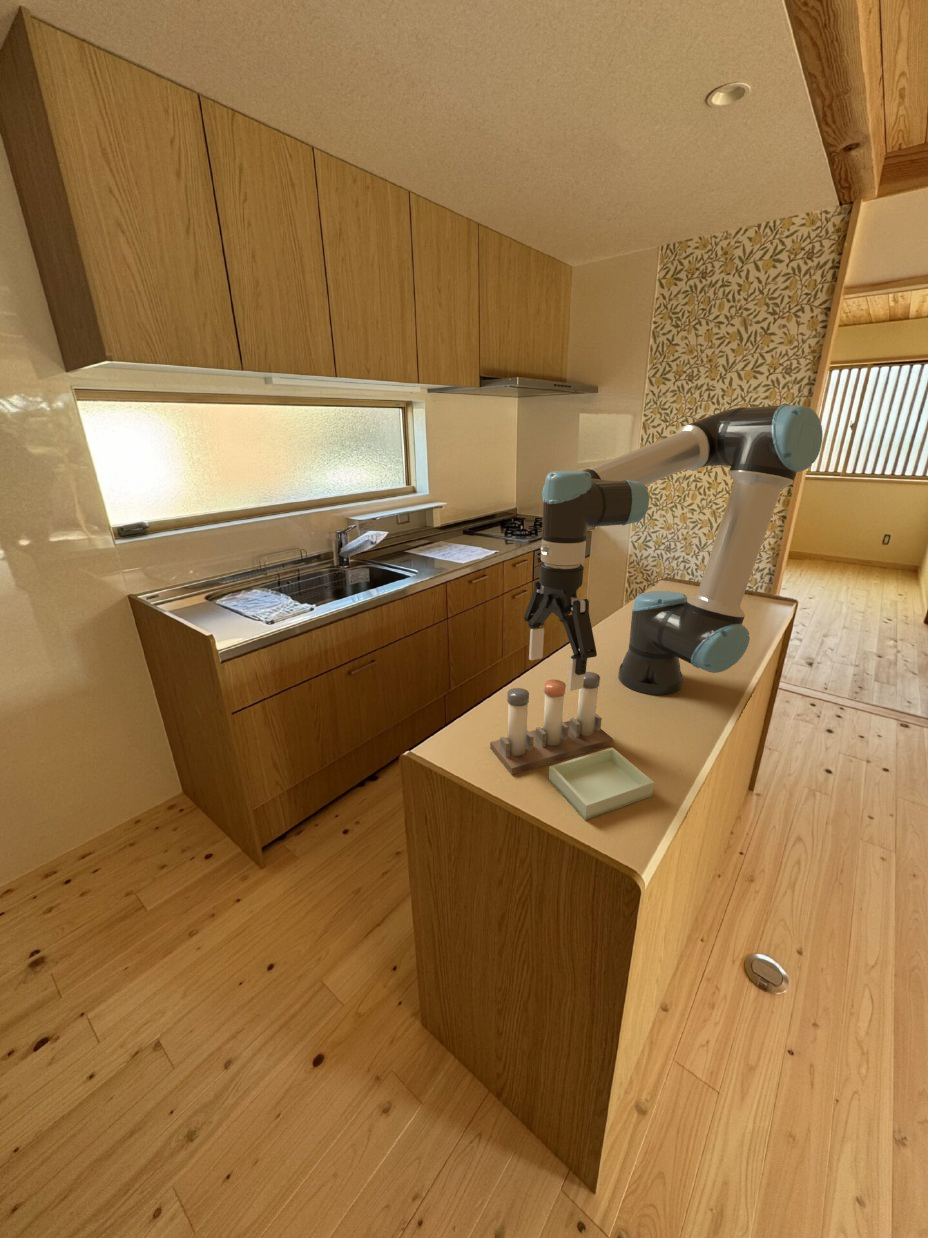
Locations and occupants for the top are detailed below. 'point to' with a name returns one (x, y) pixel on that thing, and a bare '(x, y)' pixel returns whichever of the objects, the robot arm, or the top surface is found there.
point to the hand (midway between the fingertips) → (554, 672)
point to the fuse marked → (553, 711)
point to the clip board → (546, 754)
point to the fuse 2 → (588, 703)
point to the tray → (600, 782)
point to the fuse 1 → (517, 720)
